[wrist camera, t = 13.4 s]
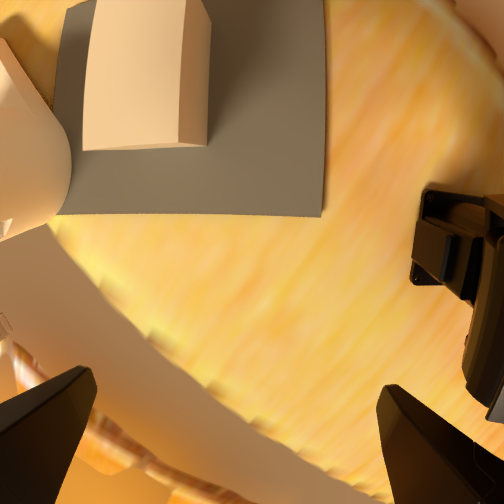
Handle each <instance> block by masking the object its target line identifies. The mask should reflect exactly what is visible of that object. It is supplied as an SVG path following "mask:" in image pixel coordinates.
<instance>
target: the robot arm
mask: <svg viewBox="0 0 504 504" xmlns="http://www.w3.org/2000/svg"><path fill="white" fill-rule="evenodd" d="M429 194H430V195H431V198H430V200H429V201H428V200H427V196H428V195H429ZM411 257H412V259H413V261H412V266H411V272H410V281H411V282H412V283H413V284H414V285H416V286H424V285H445V286H446V287H447V288H448V289H449V290H450V291H452V292H453V293H454V294H455V295H456V296H457V297H458V298H459V299H461V300H464V301H465V302H466V303H467V304H469V305H470V306H471V307H472V308H473V309H474V310H473V315H472V320H471V324H470V329H469V333H468V335H467V336H466V339H465V343H464V345H465V350H464V353H463V359H462V370H463V373H464V376H465V379H466V381H467V383H466V386H465V387H466V389H467V390H468V391H469V393H470V394H471V395H472V396H473V397H474V398H475V399H476V400H477V401H479V402H480V403H481V404H482V405H484V406H485V407H487V408H489V410H488V412H487V414H486V416H485V419H486V420H487V421H491V422H497V423H503V424H504V194H500V195H484V198H482V197H476V196H470V195H464V194H457V193H451V192H444V191H437V190H429V189H427V190H425V191H423V193H422V195H421V204H420V213H419V220H418V221H417V222H416V229H415V237H414V243H413V250H412V256H411ZM417 275H419V277H418V279H417V280H415V277H416V276H417ZM96 394H97V385H96V382H95V379H94V376H93V373H92V370H91V369H90V368H89V367H86V366H82V365H78V366H76V367H74V368H72V369H70V370H68V371H66V372H64V373H62V374H60V375H58V376H56V377H54V378H52V379H50V380H48V381H46V382H44V383H42V384H40V385H38V386H36V387H34V388H32V389H30V390H27V391H25V392H23V393H21V394H19V395H17V396H15V397H13V398H11V399H9V400H7V401H5V402H3V403H1V404H0V504H55V502H56V499H57V496H58V494H59V491H60V488H61V486H62V483H63V481H64V478H65V476H66V473H67V471H68V468H69V466H70V463H71V461H72V458H73V456H74V454H75V452H76V449H77V447H78V445H79V442H80V440H81V438H82V435H83V433H84V430H85V428H86V425H87V422H88V419H89V416H90V412H91V409H92V406H93V403H94V400H95V397H96ZM376 412H377V419H378V425H379V432H380V439H381V447H382V452H383V457H384V461H385V465H386V468H387V472H388V477H389V481H390V485H391V489H392V493H393V498H394V502H395V504H504V461H503V460H502V459H500V458H498V457H496V456H495V455H493V454H492V453H490V452H489V451H487V450H486V449H484V448H483V447H482V446H480V445H479V444H477V443H476V442H473V440H472V439H470V438H469V437H468V436H466V435H465V434H463V433H462V432H461V431H459V430H458V429H457V428H455V427H454V426H453V425H451V424H450V423H448V422H447V421H446V420H444V419H443V418H442V417H440V416H439V415H438V414H436V413H435V412H434V411H432V410H431V409H430V408H428V407H427V406H426V405H424V404H423V403H421V402H420V401H419V400H417V399H416V398H415V397H413V396H412V395H411V394H409V393H408V392H407V391H405V390H404V389H403V388H401V387H400V386H399V385H397V384H391V385H385V386H384V387H383V388H382V391H381V394H380V397H379V399H378V402H377V406H376Z"/></svg>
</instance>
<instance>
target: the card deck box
mask: <svg viewBox="0 0 504 504" xmlns="http://www.w3.org/2000/svg"><path fill="white" fill-rule="evenodd" d="M211 26H212V23H211V20H210V18H209V16H208V14H207V12H206V10H205V7H204V5H203V3H202V1H201V0H97V3H96V8H95V13H94V19H93V24H92V30H91V37H90V44H89V51H88V59H87V68H86V78H85V91H84V108H83V151H89V150H138V149H152V148H170V147H198V146H207V124H208V88H209V63H210V43H211Z"/></svg>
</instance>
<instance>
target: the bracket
mask: <svg viewBox="0 0 504 504" xmlns="http://www.w3.org/2000/svg"><path fill="white" fill-rule="evenodd" d="M71 170H72V161H71V151H70V145H69V141H68V138H67V135H66V133H65V131H64V129H63V127H62V125H61V124H60V123H59V121H58V120H57V118H56V117H55V116H54V114H53V113H52V111H51V110H50V109H49V107H48V106H47V104H46V103H45V101H44V100H43V98H42V97H41V96H40V94H39V93H38V91H37V90H36V88H35V87H34V85H33V84H32V82H31V81H30V79H29V78H28V76H27V75H26V73H25V71H24V70H23V68H22V67H21V65H20V64H19V62H18V61H17V59H16V57H15V56H14V54H13V53H12V51H11V49H10V48H9V46H8V44H7V43H6V41H5V40H4V39H3V38H0V241H3V240H5V239H8V238H10V237H13V236H15V235H17V234H20V233H22V232H25V231H27V230H30V229H32V228H34V227H37V226H40V225H42V224H45V223H47V222H49V221H50V220H51V219H52V218H53V217H54V216H55V215H56V214H57V213H58V212H59V210H60V209H61V207H62V205H63V203H64V201H65V198H66V196H67V193H68V189H69V185H70V179H71Z"/></svg>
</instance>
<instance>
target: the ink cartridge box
mask: <svg viewBox="0 0 504 504" xmlns="http://www.w3.org/2000/svg"><path fill="white" fill-rule="evenodd" d="M12 331H13V329H12V328H11V326H10V325H9V323H8V321H7V320H6V318H5V316H4V314H3V313H0V341H1V340H3V339H4V338H5V337H6V336H8V335H9V334H10V333H11V332H12Z"/></svg>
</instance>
